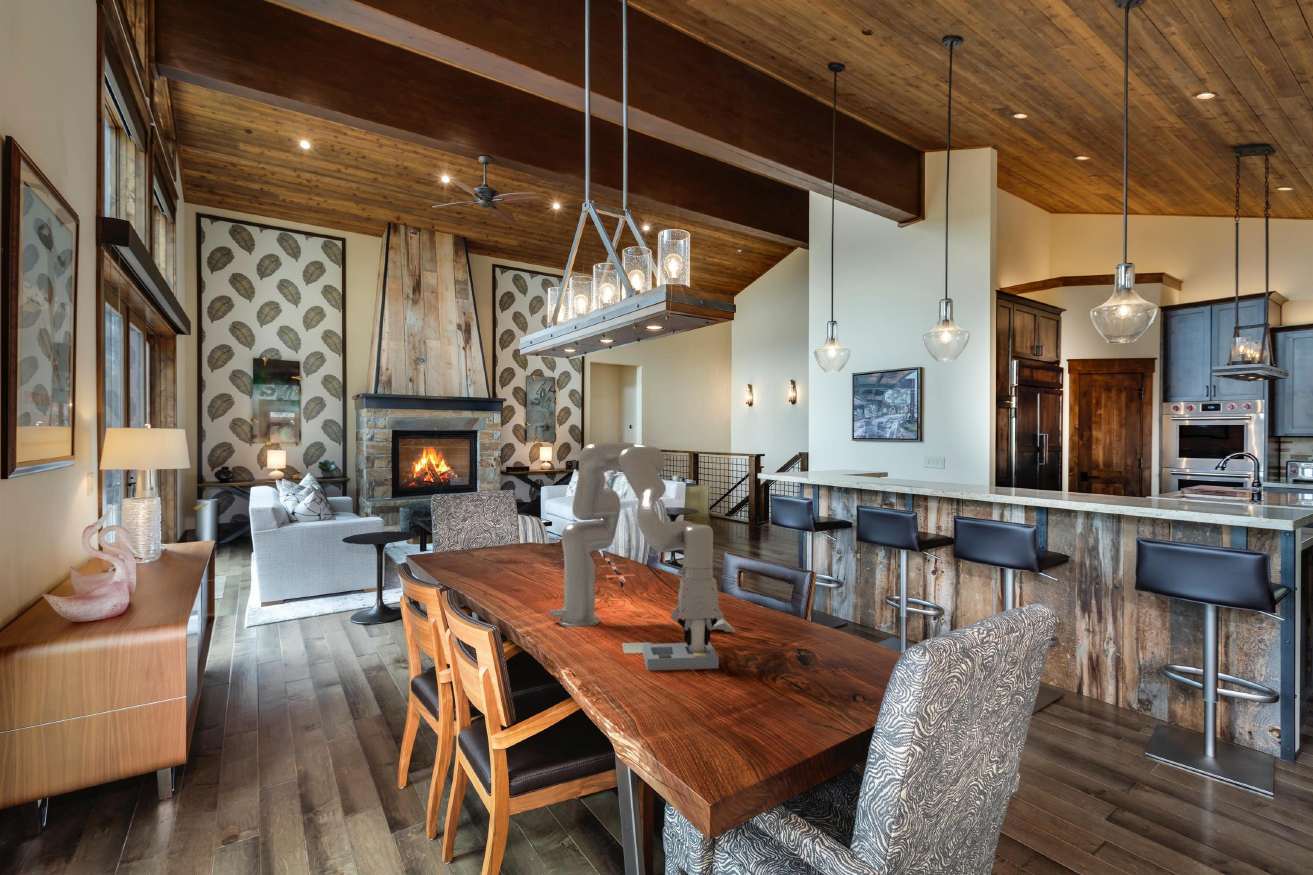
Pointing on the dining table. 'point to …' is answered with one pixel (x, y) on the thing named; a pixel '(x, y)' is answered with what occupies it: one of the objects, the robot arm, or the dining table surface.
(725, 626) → the crown molding
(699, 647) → the plug
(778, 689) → the dining table surface
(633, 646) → the square base plate
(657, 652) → the socket block
